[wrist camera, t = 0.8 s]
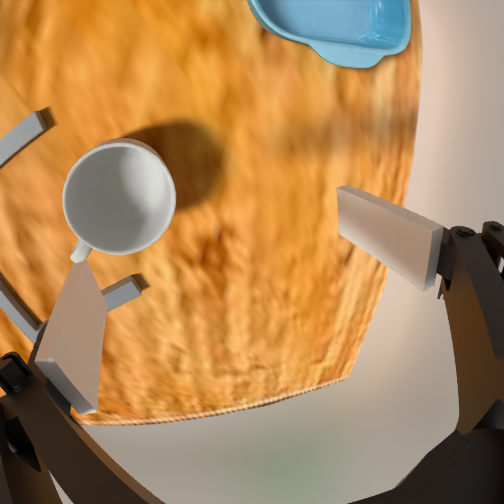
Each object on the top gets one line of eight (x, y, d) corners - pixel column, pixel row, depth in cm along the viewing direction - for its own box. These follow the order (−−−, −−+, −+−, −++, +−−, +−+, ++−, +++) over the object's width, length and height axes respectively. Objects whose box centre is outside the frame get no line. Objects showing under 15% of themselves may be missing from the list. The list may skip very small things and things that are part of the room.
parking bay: (39, 110, 22) (34, 111, 21) (141, 288, 37) (141, 295, 36) (-58, 206, 21) (-64, 210, 19) (39, 340, 35) (37, 347, 34)
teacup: (133, 114, 27) (125, 116, 20) (190, 185, 33) (200, 209, 26) (48, 196, 27) (22, 223, 21) (106, 256, 33) (97, 294, 27)
